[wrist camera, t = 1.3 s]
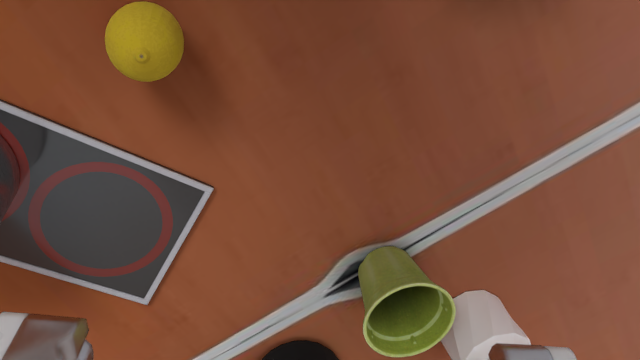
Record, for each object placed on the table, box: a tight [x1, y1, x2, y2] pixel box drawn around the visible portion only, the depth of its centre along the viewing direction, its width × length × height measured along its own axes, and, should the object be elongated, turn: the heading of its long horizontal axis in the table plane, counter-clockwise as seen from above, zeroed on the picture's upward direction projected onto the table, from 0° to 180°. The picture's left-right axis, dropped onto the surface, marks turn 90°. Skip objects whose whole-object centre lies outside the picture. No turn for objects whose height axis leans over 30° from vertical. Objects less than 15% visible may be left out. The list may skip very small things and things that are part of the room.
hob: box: [0, 99, 214, 305], centre depth 48 cm, size 28×15×1 cm, turn 59°
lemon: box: [105, 2, 184, 82], centre depth 40 cm, size 6×6×8 cm
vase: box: [441, 290, 531, 360], centre depth 62 cm, size 9×9×12 cm
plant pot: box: [358, 246, 456, 357], centre depth 57 cm, size 9×9×9 cm
